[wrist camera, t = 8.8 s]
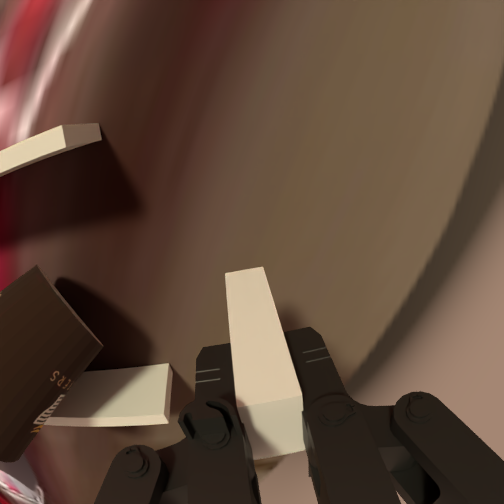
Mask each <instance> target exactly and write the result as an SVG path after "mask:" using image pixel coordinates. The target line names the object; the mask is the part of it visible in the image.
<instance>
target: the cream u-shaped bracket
mask: <svg viewBox="0 0 504 504" xmlns="http://www.w3.org/2000/svg"><path fill="white" fill-rule="evenodd" d="M100 140H102V138H101V133H100V128H99V123H94V124H73V125H61V126H58V127H56V128H53V129H51V130H48V131H45V132H43V133H41V134H38V135H36V136H33V137H31V138H28V139H26V140H24V141H22V142H19V143H17V144H15V145H13V146H10V147H8V148H6V149H4V150H2V151H0V177H1V176H3V175H6V174H8V173H10V172H13V171H15V170H18V169H20V168H22V167H25V166H27V165H30V164H33V163H35V162H38V161H40V160H43V159H46V158H48V157H51V156H54V155H57V154H60V153H62V152H65V151H68V150H71V149H74V148H77V147H80V146H83V145H87V144H90V143H93V142H96V141H100ZM172 375H173V372H172V370H171V367H170V365H169V363H166V364H158V365H150V366H142V367H132V368H123V369H112V370H100V371H87V372H83V373H82V374H81V376H80V377H79V378H78V379H77V381H76V382H75V383H74V385H73V386H72V387H71V388H70V390H69V391H68V392H67V394H66V395H65V396H64V398H63V399H62V400H61V402H60V403H59V404H58V406H57V407H56V408H55V410H54V411H53V412H52V414H51V415H50V416H49V418H48V419H47V420H46V422H45V423H44V424H43V425H58V426H136V425H153V424H166V423H169V413H170V399H171V387H172Z"/></svg>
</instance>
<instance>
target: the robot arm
mask: <svg viewBox="0 0 504 504" xmlns="http://www.w3.org/2000/svg"><path fill="white" fill-rule="evenodd" d="M225 279H226V292H227V305H228V317H229V329H230V340H231V343H227V344H221V345H215V346H208V347H203V348H202V350H201V352H200V353H199V355H198V357H197V359H196V385H195V400H194V401H193V402H191V403H190V404H188V405H186V407H185V408H184V409H183V410H182V411H181V413H180V415H179V419H178V423H179V425H180V427H181V428H182V430H183V432H184V434H185V436H186V438H184V439H183V440H182V441H180V442H178V443H176V444H174V445H171V446H169V447H166V448H163V449H160V450H157V451H154V450H153V449H152V448H150V447H148V446H145V445H132V446H129V447H126V448H124V449H123V450H121V451H120V452H119V453H118V454H117V455H116V457H115V458H114V459H113V461H112V463H111V466H110V468H109V470H108V472H107V475H106V477H105V479H104V482H103V484H102V486H101V489H100V491H99V493H98V495H97V498H96V500H95V502H94V504H261V497H260V492H259V484H258V478H257V474H256V472H255V467H254V460H256V459H262V458H268V457H274V456H279V455H285V454H290V453H295V452H299V451H304V450H305V448H306V452H307V456H308V461H309V477H311V478H312V482H313V486H314V490H315V493H316V497H317V501H318V504H401V502H400V500H399V497H398V495H397V492H398V493H399V495H400V496H401V497H402V498H403V499H404V501H405V502H406V503H407V504H504V461H503V460H502V459H501V458H500V457H499V456H498V455H497V454H496V453H495V452H494V451H493V450H492V449H491V448H490V447H488V446H487V445H486V444H485V443H484V442H483V441H482V440H481V439H480V438H479V437H478V436H477V435H476V434H475V433H474V432H473V431H472V430H471V429H470V428H469V427H468V426H466V425H465V424H464V423H463V422H462V421H461V420H460V419H459V418H458V417H457V416H456V415H455V414H454V413H453V412H452V411H450V410H449V409H448V408H447V407H446V406H445V405H444V404H443V403H442V402H441V401H440V400H439V399H438V398H436V397H434V396H433V395H431V394H429V393H425V392H411V393H408V394H406V395H404V396H402V397H401V398H400V399H399V400H398V401H397V402H396V405H392V406H367V405H363V404H360V403H358V402H356V401H354V400H353V399H352V398H350V396H348V394H347V393H346V391H345V388H344V386H343V384H342V381H341V379H340V377H339V375H338V372H337V370H336V368H335V365H334V363H333V361H332V359H331V358H330V354H329V352H328V350H327V349H326V345H325V343H324V341H323V339H322V337H321V335H320V334H319V333H318V332H316V331H315V330H314V329H312V328H311V327H307V328H302V329H298V330H293V331H288V332H283V330H282V327H281V324H280V320H279V317H278V314H277V311H276V308H275V304H274V301H273V298H272V295H271V291H270V288H269V285H268V282H267V278H266V275H265V272H264V269H263V267H258V268H253V269H247V270H241V271H236V272H230V273H225ZM253 459H254V460H253ZM396 491H397V492H396Z"/></svg>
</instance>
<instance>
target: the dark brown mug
mask: <svg viewBox="0 0 504 504" xmlns="http://www.w3.org/2000/svg"><path fill="white" fill-rule="evenodd" d="M103 347H104V346H103V345H102V343H101V342H100V341H99V340H98V339H97V337H96V336H95V335H94V334H93V333H92V332H91V330H90V329H89V328H88V327H87V326H86V324H85V323H84V322H83V321H82V320H81V319H80V317H79V316H78V315H77V314H76V313H75V311H74V310H73V309H72V308H71V306H70V305H69V304H68V303H67V302H66V300H65V299H64V298H63V297H62V295H61V294H60V293H59V292H58V290H57V289H56V288H55V286H54V285H53V284H52V283H51V281H50V280H49V279H48V278H47V276H46V275H45V274H44V272H43V271H42V270H41V269H40V267H39V266H38V265H36V266H35V267H33V268H32V269H31V270H29V271H28V272H26V273H25V274H24V275H22V276H21V277H20V278H18V279H17V280H15V281H14V282H13V283H11V284H10V285H9V286H7V287H6V288H5V289H4V290H2V291H1V292H0V461H3V462H15V461H17V460H19V458H20V457H21V455H22V454H23V452H24V451H25V450H26V448H27V447H28V445H29V444H30V442H31V441H32V440H33V438H34V437H35V436H36V434H37V433H38V431H39V430H40V429H41V427H42V426H43V424H44V423H45V422H46V420H47V419H48V418H49V416H50V415H51V414H52V412H53V411H54V410H55V408H56V407H57V406H58V404H59V403H60V402H61V400H62V399H63V398H64V396H65V395H66V394H67V392H68V391H69V390H70V388H71V387H72V386H73V385H74V383H75V382H76V381H77V379H78V378H79V377H80V376H81V374H82V373H83V372H84V370H85V369H86V368H87V367H88V365H89V364H90V363H91V362H92V360H93V359H94V358H95V357H96V355H97V354H98V353H99V352H100V350H101V349H102V348H103Z"/></svg>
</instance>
